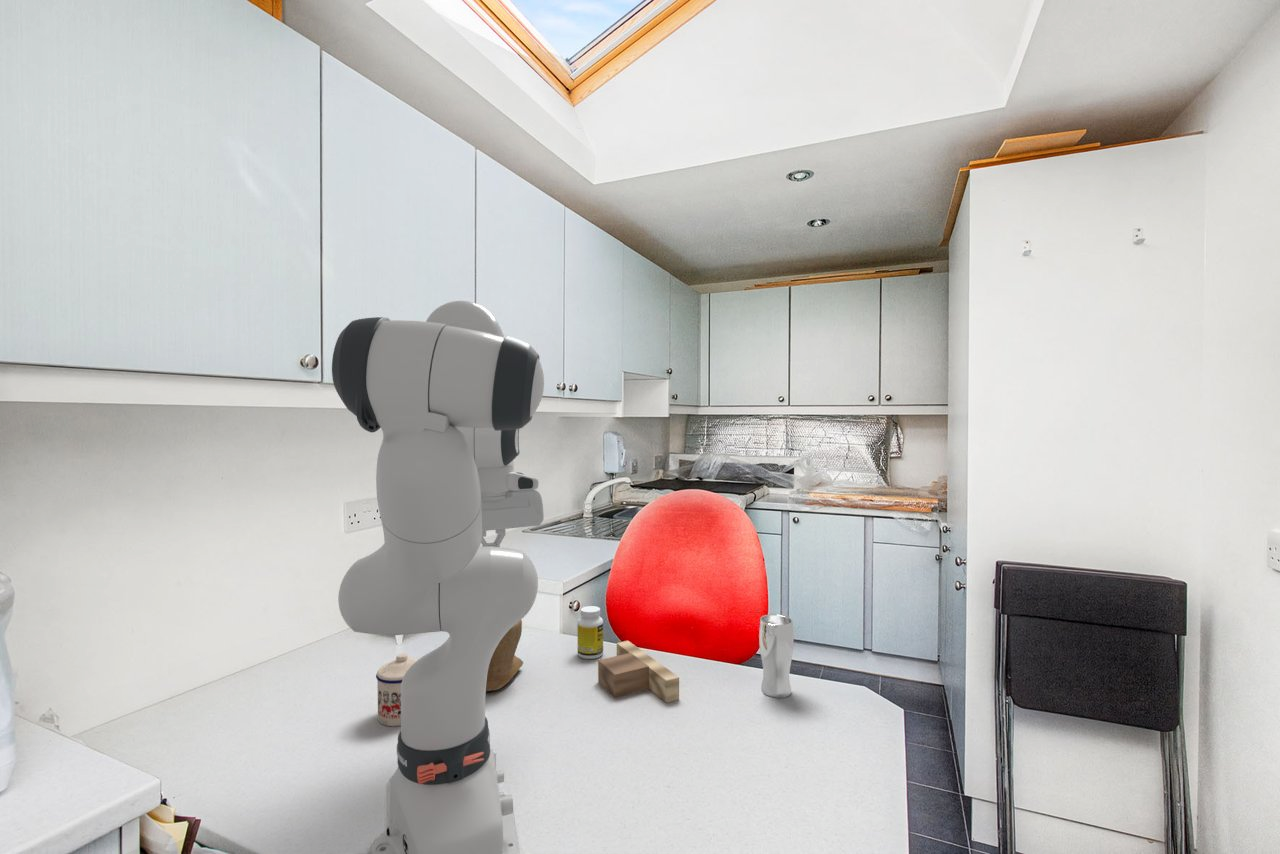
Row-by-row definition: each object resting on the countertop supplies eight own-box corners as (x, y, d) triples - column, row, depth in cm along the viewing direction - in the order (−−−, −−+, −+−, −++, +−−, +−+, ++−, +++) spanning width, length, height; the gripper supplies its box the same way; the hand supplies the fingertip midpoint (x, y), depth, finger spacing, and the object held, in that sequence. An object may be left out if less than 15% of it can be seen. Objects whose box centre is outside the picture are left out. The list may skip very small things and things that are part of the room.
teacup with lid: (366, 725, 108) (365, 663, 107) (394, 701, 116) (393, 644, 116) (425, 731, 106) (425, 667, 105) (450, 706, 115) (449, 648, 114)
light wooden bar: (679, 699, 117) (679, 677, 117) (666, 702, 116) (666, 680, 116) (628, 659, 136) (628, 640, 136) (616, 662, 135) (616, 643, 135)
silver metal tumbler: (768, 680, 126) (768, 611, 125) (799, 690, 121) (799, 618, 121) (753, 692, 120) (753, 620, 120) (784, 702, 116) (784, 628, 115)
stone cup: (507, 698, 118) (507, 625, 117) (454, 692, 120) (454, 621, 120) (537, 667, 132) (536, 602, 132) (489, 662, 135) (488, 598, 135)
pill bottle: (602, 660, 136) (602, 613, 136) (576, 659, 136) (575, 613, 136) (604, 649, 142) (604, 604, 142) (579, 649, 143) (579, 604, 142)
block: (649, 689, 122) (649, 666, 122) (615, 699, 118) (615, 674, 118) (631, 675, 129) (630, 652, 129) (598, 683, 125) (598, 660, 125)
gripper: (436, 486, 103) (437, 563, 103) (546, 479, 113) (546, 550, 113) (430, 482, 109) (431, 556, 109) (535, 476, 119) (536, 544, 119)
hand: (491, 553), depth 111 cm, fingers closed
